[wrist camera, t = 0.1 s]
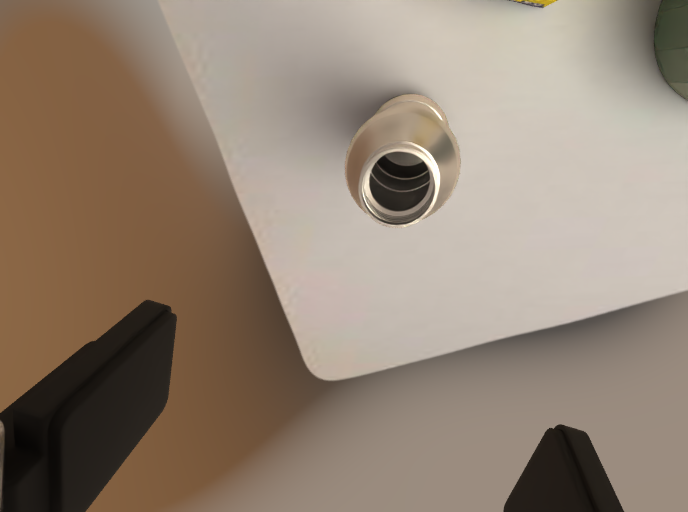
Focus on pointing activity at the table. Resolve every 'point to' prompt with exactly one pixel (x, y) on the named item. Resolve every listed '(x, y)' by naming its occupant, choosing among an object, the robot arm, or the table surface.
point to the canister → (673, 44)
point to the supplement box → (535, 2)
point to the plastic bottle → (403, 162)
